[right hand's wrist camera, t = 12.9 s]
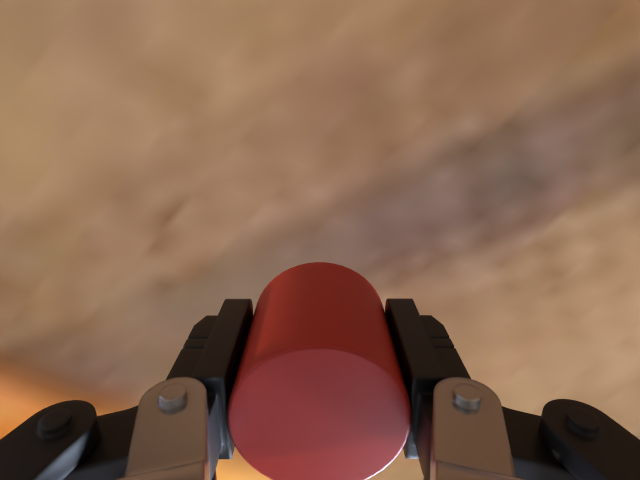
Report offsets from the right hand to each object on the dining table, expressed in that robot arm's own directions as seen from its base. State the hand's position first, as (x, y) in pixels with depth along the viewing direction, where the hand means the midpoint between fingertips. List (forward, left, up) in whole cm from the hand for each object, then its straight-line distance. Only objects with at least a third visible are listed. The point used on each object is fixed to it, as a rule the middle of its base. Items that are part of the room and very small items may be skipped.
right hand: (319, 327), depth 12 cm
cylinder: (0, 0, 0) cm, 0 cm away
